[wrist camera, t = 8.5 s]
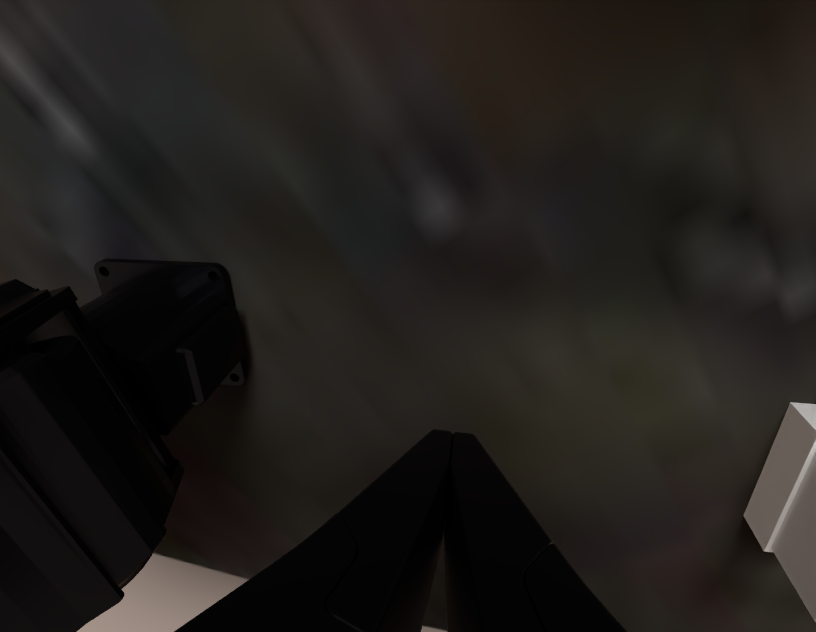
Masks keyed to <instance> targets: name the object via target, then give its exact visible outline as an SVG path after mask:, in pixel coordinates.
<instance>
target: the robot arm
mask: <svg viewBox="0 0 816 632" xmlns="http://www.w3.org/2000/svg"><path fill="white" fill-rule="evenodd" d="M105 267H106V268H107V269H108V271H109V272H107V271H106V269H105ZM94 270H95V274H96V277H97V280H98V283H99V286H100V289H101V292H102V295H101V296H100V297H98V298H96V299H94V300H93V301H91V302H89V303H87V304H86V305H84V306H82V307H80V308H79V307H78V305H77V304H76V302H75V301H76V300H77V298H76V296H75V295H74V293H73V291H72V290H71V288H70V287H69V286H67V287H63V288H59V289H56V290H52V291H48V289H46V290H41V291H40V290H39V289H38V288H37V289H34V288H32V287H30V286H28V285H26V284H24V283H23V282H21V281H19V280H17V279H14V280H11V281H8V282H4V283H1V284H0V632H76V631H78V630H79V629H80V628H81V627H83V626H84V625H85V624H86V623H88V622H89V621H91V620H93V619H94V618H96V617H97V616H99V615H100V614H102V613H103V612H105V611H107V610H108V609H110V608H111V607H113V606H114V605H116V604H117V603H119V602H120V601H121V600H122V599H123V597H124V592H123V591H122V590H121V589H122V588H123V587H124V586H126V585H127V584H128V583H129V582H130V581H131V580H132V579H133V578H134V577H135V576H136V575H137V574H138V573H139V572H140V571H141V569H142V568H143V567H144V566H145V564H146V563H147V561H148V560H149V559H150V557H151V556H152V554H153V553H154V551H155V550H156V549H157V547H158V546H159V545H160V543H161V542H162V541H163V538H164V536H165V534H166V532H167V530H166V527H165V526H164V524H165V522H166V519H167V516H168V514H169V511H170V508H171V505H172V503H173V501H174V497H175V495H176V492H177V489H178V487H179V484H180V481H181V479H182V476H183V473H184V468H183V467H182V465H181V464H180V462H179V460H176V459H174V458H173V456H172V454H171V453H170V451H169V450H168V448H167V446H166V445H165V443H164V442H163V440H162V438H161V437H160V435H168V434H169V433H170V432H171V431H172V430H173V428H174V427H175V426H176V425H177V424H178V423H179V422H180V421H181V419H182V418H183V417H184V416H185V415H186V414H187V413H188V412H189V411H190V409H191V408H192V407H193V406H194V405H202V404H203V403H204V402H205V401H206V400H207V399H208V397H209V396H210V395H211V394H212V393H213V392H214V391H215V389H216V388H217V387H218V386H219V385H232V386H240V385H241V384H243V383H244V381H245V380H246V378H247V369H246V364H245V359H244V356H245V348H244V343H243V338H242V333H241V328H240V323H239V318H238V312H237V310H236V309H235V308H234V304H233V299H232V294H231V289H230V283H229V278H228V273H227V271H226V269H225V268H224V267H223V266H222V265H220V264H218V263H203V262H178V261H152V260H127V259H103V260H101V261H99V262H97V263H96V264H95V266H94ZM212 271H213V272H215V273H217V275H218V278H216V277H214V276H213V274H212ZM234 374H237V375H238V376H239V377H236V376H235V375H234ZM452 438H453V440H452ZM446 503H447V504H446ZM445 514H446V516H445ZM444 524H445V527H444ZM443 533H444V565H445V588H446V612H447V632H627V631H626V630H625V629H624V628H623V627H622V626H621V624H620V623H619V622H618V621H617V620H616V619H615V618H614V617H613V616H612V615H611V613H610V612H609V611H608V610H607V609H606V608H605V606H604V605H603V604H602V603H601V602H600V601H599V600H598V598H597V597H596V596H595V595H594V594H593V593H592V591H591V590H590V589H589V588H588V587H587V586H586V584H585V583H584V582H583V581H582V579H581V578H580V577H579V576H578V574H577V573H576V572H575V570H574V569H573V568H572V567H571V565H570V564H569V563H568V561H567V560H566V559H565V557H564V556H563V555H562V553H561V552H560V551H559V549H558V548H557V546H556V545H555V544H553V543H552V541H551V539H550V538H549V537H548V535H547V534H546V533H545V531H544V530H543V528H542V527H541V526H540V524H539V523H538V522H537V520H536V519H535V517H534V516H533V515H532V513H531V512H530V511H529V509H528V508H527V507H526V505H525V504H524V502H523V501H522V500H521V498H520V497H519V496H518V494H517V493H516V491H515V490H514V489H513V487H512V486H511V485H510V483H509V482H508V481H507V479H506V478H505V476H504V475H503V474H502V472H501V471H500V470H499V468H498V467H497V465H496V464H495V463H494V461H493V460H492V459H491V457H490V456H489V455H488V453H487V452H486V450H485V449H484V448H483V446H482V445H481V444H480V442H479V441H478V439H477V438H476V437H475V436H474V435H473V434H469V433H461V432H455V433H454V434H452V432H450V431H444V430H435V429H434V430H432V431H430V432H429V433H428V434H427V435H426V436H425V437H424V438H423V439H421V440H420V441H419V442H418V443H417V444H416V445H415V446H413V447H412V448H411V449H410V450H409V451H408V452H407V453H405V454H404V455H403V456H402V457H401V458H400V459H399V460H398V461H396V462H395V463H394V464H393V465H392V466H391V467H390V468H388V469H387V470H386V471H385V472H384V473H383V474H382V475H380V476H379V477H378V478H377V479H376V480H375V481H374V482H372V483H371V484H370V485H369V486H368V487H367V488H366V489H365V490H363V491H362V492H361V493H360V494H359V495H358V496H357V497H355V498H354V499H353V500H352V501H351V502H350V503H349V504H347V505H346V506H345V507H344V508H343V509H342V510H341V511H340V512H339V513H336V514H335V515H334V516H333V517H332V518H331V519H329V520H328V521H327V522H326V523H325V524H324V525H323V526H321V527H320V528H319V529H318V530H316V531H315V532H314V533H313V534H312V535H310V536H309V537H308V538H307V539H305V540H304V541H303V542H302V543H300V544H299V545H298V546H296V547H295V548H294V549H292V550H291V551H289V552H288V553H287V554H285V555H284V556H283V557H281V558H280V559H278V560H277V561H276V562H274V563H273V564H271V565H270V566H268V567H267V568H266V569H264V570H263V571H261V572H260V573H258V574H257V575H255V576H254V577H253V578H251V579H250V580H248V581H247V582H245V583H244V584H243V585H241V586H240V587H238V588H237V589H235V590H234V591H232V592H231V593H229V594H228V595H227V596H225V597H224V598H222V599H221V600H219V601H218V602H216V603H215V604H214V605H212V606H211V607H209V608H208V609H206V610H205V611H203V612H202V613H200V614H199V615H198V616H196V617H195V618H193V619H192V620H190V621H189V622H187V623H186V624H185V625H183V626H182V627H180V628H179V629H177V630H176V631H174V632H421V629H422V624H423V620H424V616H425V612H426V608H427V604H428V599H429V595H430V591H431V587H432V583H433V579H434V574H435V570H436V566H437V562H438V558H439V554H440V549H441V545H442V540H443Z"/></svg>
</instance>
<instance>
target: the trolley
mask: <svg viewBox="0 0 816 632" xmlns="http://www.w3.org/2000/svg"><path fill="white" fill-rule="evenodd" d="M744 518H745V519H746V521H747V523H748V524H749V526H750V528H751V530H752V531H753V533H754V535H755V537H756V538H757V540H758V542H759V544H760V545H761V547H762V549H763V551H765V552H774V554H775V555H776V557H777V559H778V561H779V562H780V564H781V566H782V567H783V569H784V571H785V572H786V574H787V576H788V577H789V579H790V581H791V582H792V584H793V586H794V587H795V589H796V591H797V592H798V594H799V596H800V597H801V599H802V601H803V603H804V604H805V606H806V608H807V609H808V611H809V613H810V614H811V616H812V618H813V619H814V621H815V623H816V404H805V403H790V404H789V407H788V409H787V411H786V414H785V416H784V419H783V421H782V424H781V426H780V428H779V431H778V433H777V436H776V438H775V441H774V443H773V445H772V448H771V450H770V453H769V455H768V457H767V460H766V462H765V465H764V467H763V470H762V472H761V474H760V477H759V479H758V482H757V484H756V486H755V489H754V491H753V494H752V496H751V499H750V501H749V503H748V506H747V508H746V511H745V513H744Z"/></svg>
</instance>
